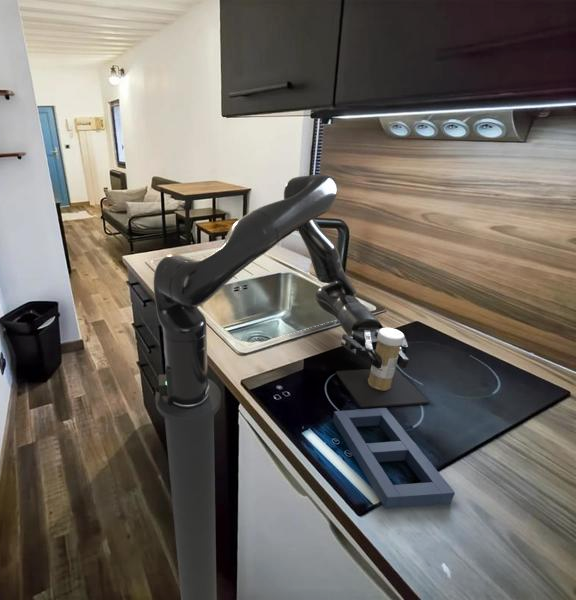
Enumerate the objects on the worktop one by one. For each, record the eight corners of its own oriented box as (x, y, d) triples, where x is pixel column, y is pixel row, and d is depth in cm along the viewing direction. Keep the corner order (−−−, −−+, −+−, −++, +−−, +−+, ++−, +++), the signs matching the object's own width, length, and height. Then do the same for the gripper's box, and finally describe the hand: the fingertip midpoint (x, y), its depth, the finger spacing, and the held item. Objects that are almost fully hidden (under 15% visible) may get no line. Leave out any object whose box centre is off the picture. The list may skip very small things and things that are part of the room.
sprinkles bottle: (362, 381, 81) (373, 329, 75) (379, 376, 82) (391, 325, 76) (378, 393, 77) (391, 340, 71) (396, 388, 78) (409, 335, 72)
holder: (384, 508, 55) (387, 497, 54) (332, 420, 72) (334, 411, 71) (450, 503, 55) (455, 492, 54) (383, 417, 72) (386, 407, 71)
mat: (361, 408, 74) (361, 406, 74) (335, 373, 85) (335, 371, 85) (428, 403, 75) (429, 401, 74) (394, 369, 85) (395, 367, 85)
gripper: (330, 310, 88) (359, 349, 73) (391, 308, 87) (433, 348, 72) (327, 336, 91) (353, 379, 76) (385, 335, 90) (424, 378, 75)
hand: (392, 364), depth 74 cm, fingers closed on sprinkles bottle, 4 cm apart
